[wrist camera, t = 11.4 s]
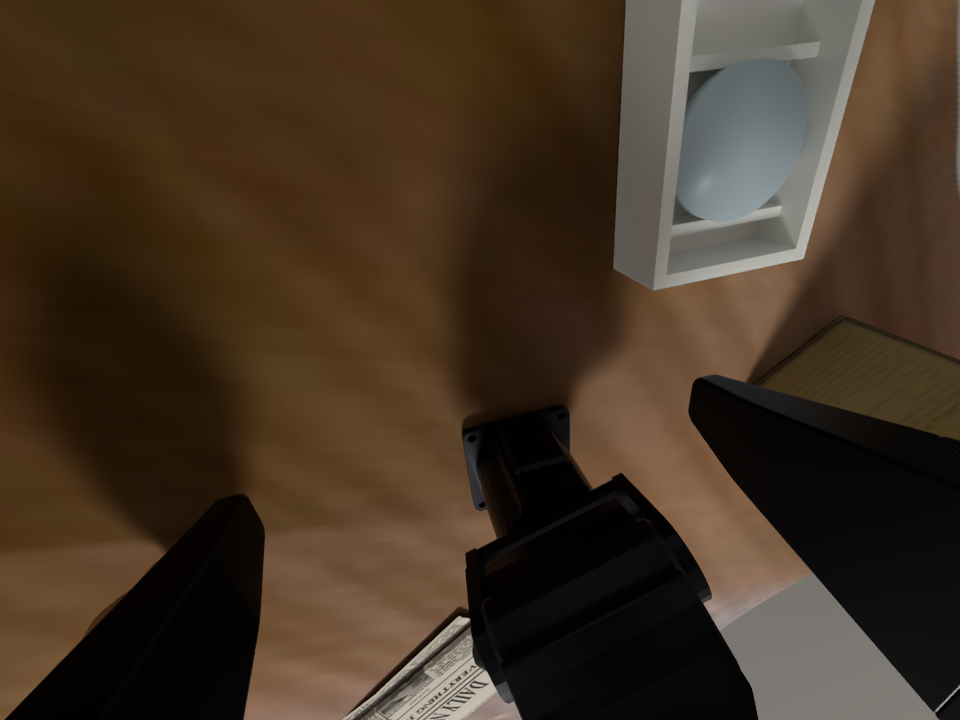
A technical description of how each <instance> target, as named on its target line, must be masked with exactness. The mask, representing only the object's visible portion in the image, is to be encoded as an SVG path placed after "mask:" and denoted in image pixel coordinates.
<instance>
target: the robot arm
mask: <svg viewBox="0 0 960 720" xmlns="http://www.w3.org/2000/svg"><path fill="white" fill-rule="evenodd" d="M688 411H689V416H690V419H691V421H692V423H693V424H694V425H695V427H696V428H697V430H698V431H699V432H700V434H701V435H702V437H703V438H704V440H705V441H706V442H707V444H708V445H709V447H710V448H711V449H712V451H713V452H714V454H715V455H716V457H717V458H718V459H719V461H720V462H721V464H722V465H723V466H724V468H725V469H726V471H727V472H728V473H729V475H730V476H731V477H732V479H733V480H734V481H735V482H736V484H737V485H738V486H739V487H740V488H741V490H742V491H743V492H744V493H745V494H746V495H747V497H748V498H749V499H750V500H751V501H752V502H753V504H754V505H755V506H756V507H757V508H758V509H759V511H760V512H761V513H762V514H763V515H764V516H765V518H766V519H767V520H768V521H769V522H770V523H771V525H772V526H773V527H774V528H775V529H776V530H777V531H778V533H779V534H780V535H781V536H782V537H783V538H784V540H785V541H786V542H787V543H788V544H789V545H790V547H791V548H792V549H793V550H794V551H795V552H796V554H797V555H798V556H799V557H800V558H801V559H802V560H803V562H804V563H805V564H806V565H807V566H808V567H809V569H810V570H811V571H812V572H813V573H814V574H815V576H816V577H817V578H818V579H819V580H820V581H821V582H822V584H823V585H824V586H825V587H826V588H827V590H828V591H829V592H830V593H831V594H832V595H833V596H834V598H835V599H836V600H837V601H838V602H839V603H840V605H842V607H843V608H844V609H845V610H846V612H847V613H848V614H849V615H850V616H851V617H852V619H853V620H854V621H855V622H856V623H857V624H858V625H859V627H860V628H861V629H862V630H863V631H864V632H865V634H866V635H867V636H868V637H869V638H870V639H871V641H872V642H873V643H874V644H875V645H876V646H877V647H878V649H879V650H880V651H881V652H882V653H883V654H884V656H885V657H886V658H887V659H888V660H889V661H890V663H891V664H892V665H893V666H894V667H895V668H896V669H897V671H898V672H899V673H900V674H901V675H902V677H903V678H904V679H905V680H906V681H907V682H908V683H909V685H910V686H911V687H912V688H913V689H914V690H915V692H916V693H917V694H918V695H919V696H920V697H921V699H922V700H923V701H924V702H925V703H926V704H927V705H928V707H929V708H930V709H931V710H932V711H933V712H936V716H937V718H938V719H939V720H960V441H959V440H956V439H952V438H948V437H944V436H943V437H940V436H938V435H937V434H933V433H930V432H926V431H922V430H919V429H915V428H911V427H908V426H904V425H900V424H896V423H893V422H889V421H885V420H882V419H878V418H874V417H871V416H867V415H863V414H860V413H856V412H852V411H849V410H845V409H841V408H837V407H834V406H830V405H826V404H823V403H819V402H815V401H812V400H808V399H804V398H801V397H797V396H793V395H790V394H786V393H782V392H779V391H775V390H771V389H767V388H764V387H760V386H756V385H753V384H749V383H745V382H742V381H738V380H734V379H731V378H727V377H723V376H720V375H708V376H704V377H700V378H697V379H696V380H695V381H694V383H693V385H692V391H691V397H690V403H689V409H688ZM560 413H562V414H561V415H559V414H560ZM558 415H559V416H558ZM471 435H474V436H473V437H472V438H468V437H469V436H471ZM462 440H463V446H464V452H465V457H466V463H467V469H468V475H469V481H470V486H471V492H472V498H473V503H474V506H475V509H476V510H479V511H482V510H486V509H487V510H488V513H489V516H490V519H491V522H492V525H493V528H494V531H495V534H496V537H497V539H496V540H494V541H492V542H490V543H488V544H487V545H485V546H483V547H481V548H479V549H476V548H475V549H473V550H471V551H469V552H467V553H465V555H466V566H467V568H466V569H465V572H466V583H467V593H468V604H469V615H470V626H471V635H472V639H473V647H472V655H473V658H474V661H475V663H476V665H477V666H478V667H479V668H481V669H483V670H485V671H486V672H487V673H488V675H489V677H490V679H491V681H492V683H493V685H494V687H495V688H496V690H497V692H498V693H499V695H500V696H501V698H502V699H503V700H504V701H505V702H506V703H508V704H509V703H511V702H513V701H515V704H516V706H517V708H518V711H519V713H520V716H521V718H522V720H758V715H757V710H756V706H755V700H754V695H753V691H752V688H751V686H750V684H749V682H748V681H747V679H746V677H745V676H744V674H743V673H742V672H741V670H740V667H739V665H738V663H737V660H736V659H735V657H734V656H733V654H732V652H731V650H730V649H729V647H728V645H727V643H726V642H725V640H724V638H723V637H722V635H721V633H720V631H719V630H718V628H717V626H716V625H715V623H714V621H713V620H712V618H711V616H710V614H709V613H708V611H707V609H706V608H705V606H704V604H703V603H704V602H706V601H708V600H710V599H712V594H711V590H710V587H709V585H708V583H707V581H706V578H705V576H704V575H703V573H702V571H701V569H700V567H699V565H698V564H697V562H696V560H695V559H694V557H693V555H692V554H691V552H690V551H689V549H688V548H687V546H686V545H685V543H684V542H683V540H682V539H681V537H680V536H679V535H678V533H677V532H676V531H675V529H674V528H673V527H672V525H671V524H670V523H669V522H668V521H667V520H666V518H665V517H664V516H663V515H662V514H661V513H660V512H659V511H658V510H657V509H656V508H655V507H654V506H653V505H652V504H651V503H650V502H649V501H648V500H647V499H646V498H645V497H644V496H643V495H642V494H641V492H640V491H639V490H638V489H637V488H636V487H635V486H634V485H633V484H632V483H631V482H630V481H629V480H628V479H627V478H626V477H625V476H624V475H623V474H622V473H620V474H618V475H616V476H614V477H612V480H610V481H608V482H607V483H605V484H603V485H601V486H599V487H597V488H595V489H593V488H592V486H591V485H590V483H589V482H588V480H587V479H586V477H585V476H584V474H583V473H582V471H581V469H580V468H579V466H578V465H577V463H576V462H575V460H574V459H573V457H572V456H571V454H570V420H569V411H568V410H567V409H566V407H565V406H562V405H560V406H555V407H551V408H547V409H543V410H539V411H535V412H531V413H527V414H523V415H519V416H515V417H511V418H507V419H503V420H499V421H495V422H491V423H487V424H483V425H479V426H475V427H471V428H468V429H466V430H465V431H464V432H463V433H462ZM481 502H482V503H481ZM264 543H265V531H264V526H263V523H262V521H261V519H260V518H259V516H258V514H257V512H256V510H255V509H254V507H253V505H252V503H251V501H250V500H249V498H248V497H247V496H246V495H245V494H237V495H233V496H229V497H225V498H222V499H219V500H218V501H216V502H215V503H214V504H213V505H212V506H211V507H210V508H209V509H208V510H207V511H206V513H205V514H204V515H203V516H202V517H201V518H200V519H199V520H198V521H197V522H196V523H195V524H194V525H193V526H192V527H191V528H190V529H189V530H188V531H187V532H186V533H185V534H184V535H183V536H182V537H181V538H180V539H179V540H178V541H177V542H176V543H175V544H174V546H173V547H172V548H171V549H170V550H169V551H168V552H167V553H166V554H165V555H164V556H163V557H162V558H161V559H160V560H159V561H158V562H157V563H156V564H155V565H154V566H153V567H152V568H151V569H150V570H149V571H148V572H147V573H146V574H145V575H144V576H143V577H142V579H141V580H140V581H139V582H138V583H137V584H136V585H135V586H134V587H133V588H132V589H131V590H130V591H129V592H128V593H127V594H126V595H125V596H124V597H123V598H122V599H121V600H120V601H119V602H118V603H117V604H116V605H115V606H114V607H113V608H112V609H111V610H110V612H109V613H108V614H107V615H106V616H105V617H104V618H103V619H102V620H101V621H100V622H99V623H98V624H97V625H96V626H95V627H94V628H93V629H92V630H91V631H90V632H89V633H88V634H87V635H86V636H85V637H84V638H83V639H82V640H81V641H80V642H79V643H78V645H77V646H76V647H75V648H74V649H73V650H72V651H71V652H70V653H69V654H68V655H67V656H66V657H65V658H64V659H63V660H62V661H61V662H60V663H59V664H58V665H57V666H56V667H55V668H54V669H53V670H52V671H51V672H50V673H49V674H48V675H47V676H46V677H45V678H44V680H43V681H42V682H41V683H40V684H39V685H38V686H37V687H36V688H35V689H34V690H33V691H32V692H31V693H30V694H29V695H28V696H27V697H26V698H25V699H24V700H23V701H22V702H21V703H20V704H19V705H18V706H17V707H16V708H15V709H14V710H13V711H12V712H11V714H10V715H9V716H8V717H7V718H6V719H5V720H244V714H245V708H246V702H247V697H248V691H249V685H250V679H251V673H252V667H253V661H254V655H255V649H256V643H257V637H258V630H259V623H260V613H261V598H262V579H263V561H264Z"/></svg>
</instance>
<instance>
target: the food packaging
mask: <svg viewBox="0 0 960 720" xmlns="http://www.w3.org/2000/svg"><path fill="white" fill-rule="evenodd" d="M754 385H756V386H760V387H764V388H767V389H771V390H775V391H779V392H782V393H786V394H790V395H793V396H797V397H801V398H804V399H808V400H812V401H815V402H819V403H823V404H826V405H830V406H834V407H837V408H841V409H845V410H849V411H852V412H856V413H860V414H863V415H867V416H871V417H874V418H878V419H882V420H885V421H889V422H893V423H896V424H900V425H904V426H908V427H911V428H915V429H919V430H922V431H926V432H930V433H933V434H937V435H938V436H940V437H943V436H944V437H948V438H952V439H956V440H959V441H960V360H958V359H955V358H953V357H950V356H947V355H945V354H942V353H940V352H937V351H935V350H932V349H929V348H927V347H924V346H922V345H919V344H916V343H914V342H911V341H909V340H906V339H904V338H901V337H898V336H896V335H893V334H891V333H888V332H885V331H883V330H880V329H878V328H875V327H872V326H870V325H867V324H865V323H862V322H860V321H857V320H855V319H852V318H850V317H849V316H847V315H843V316H842V317H840V318H839V319H837V320H836V321H835V322H833V323H832V324H831V325H829V326H828V327H827V328H825V329H824V330H823V331H821V332H820V333H819V334H818V335H817V336H815V337H814V338H813V339H812V340H811V341H809V342H808V343H807V344H805V345H804V346H803V347H801V348H800V349H799V350H797V351H796V352H795V353H793V354H792V355H791V356H789V357H788V358H787V359H786V360H784V361H783V362H782V363H781V364H779V365H778V366H777V367H776V368H774V369H773V370H772V371H771V372H769V373H768V374H767V375H766V376H764V377H763V378H762V379H761V380H759V381H758V382H756V383H755V384H754Z"/></svg>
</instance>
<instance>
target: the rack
mask: <svg viewBox="0 0 960 720" xmlns="http://www.w3.org/2000/svg"><path fill="white" fill-rule="evenodd" d="M874 3H875V0H626V12H625V32H624V53H623V74H622V94H621V115H620V136H619V157H618V177H617V198H616V219H615V240H614V260H613V269H614V270H616V271H618V272H620V273H622V274H624V275H625V276H627V277H629V278H631V279H633V280H634V281H636V282H638V283H640V284H642V285H644V286H645V287H647V288H649V289H651V290H653V291H654V290H659V289H663V288H668V287H673V286H677V285H682V284H687V283H692V282H696V281H701V280H706V279H711V278H715V277H720V276H725V275H730V274H734V273H739V272H744V271H748V270H753V269H758V268H763V267H767V266H772V265H777V264H782V263H786V262H791V261H796V260H801V259H804V255H805V251H806V248H807V244H808V241H809V237H810V233H811V230H812V226H813V223H814V219H815V215H816V212H817V208H818V205H819V201H820V197H821V194H822V190H823V187H824V183H825V179H826V176H827V172H828V169H829V165H830V161H831V158H832V154H833V151H834V147H835V143H836V140H837V136H838V133H839V129H840V125H841V122H842V118H843V115H844V111H845V107H846V104H847V100H848V97H849V93H850V89H851V86H852V82H853V79H854V75H855V71H856V68H857V64H858V61H859V57H860V53H861V50H862V46H863V43H864V39H865V35H866V32H867V28H868V25H869V21H870V17H871V14H872V10H873V7H874Z"/></svg>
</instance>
